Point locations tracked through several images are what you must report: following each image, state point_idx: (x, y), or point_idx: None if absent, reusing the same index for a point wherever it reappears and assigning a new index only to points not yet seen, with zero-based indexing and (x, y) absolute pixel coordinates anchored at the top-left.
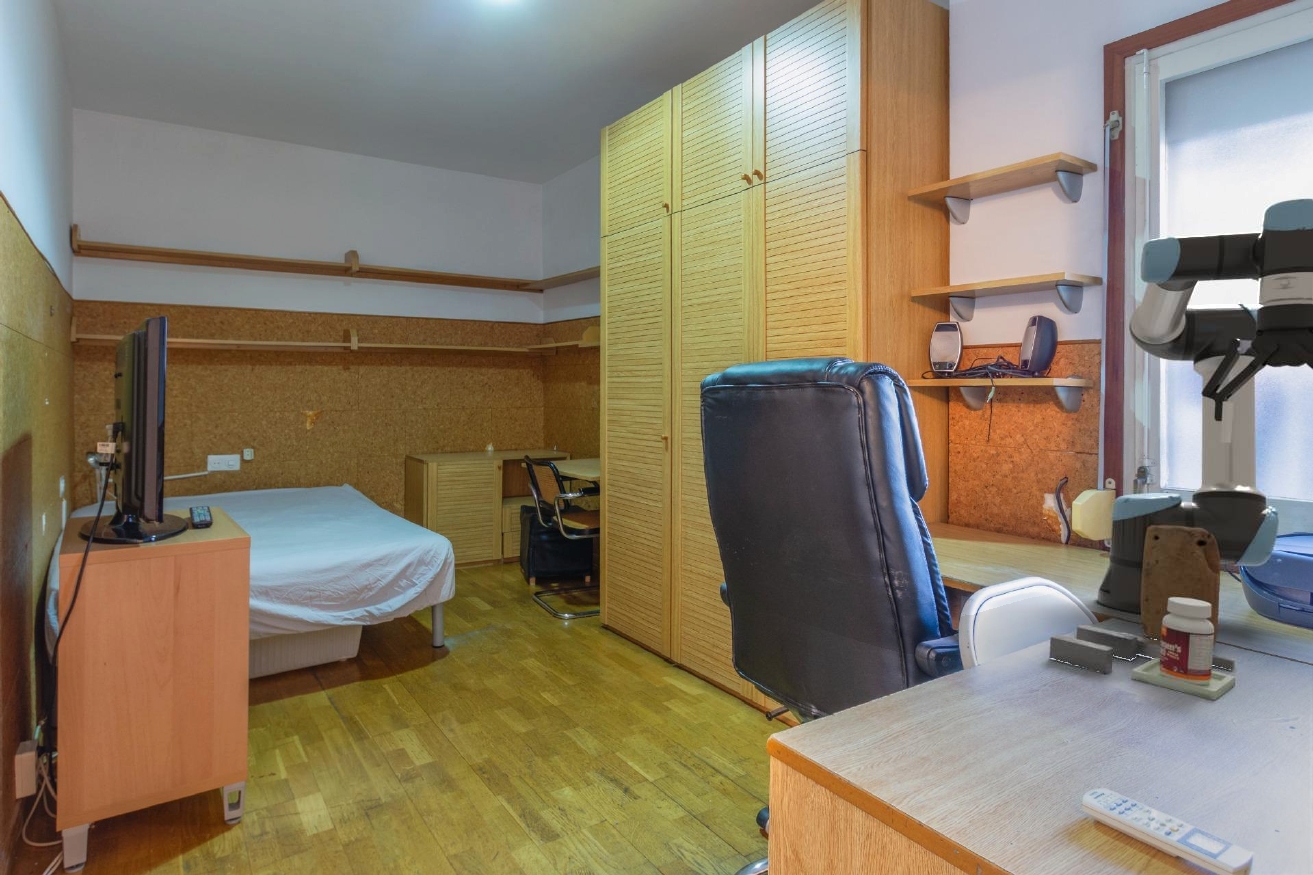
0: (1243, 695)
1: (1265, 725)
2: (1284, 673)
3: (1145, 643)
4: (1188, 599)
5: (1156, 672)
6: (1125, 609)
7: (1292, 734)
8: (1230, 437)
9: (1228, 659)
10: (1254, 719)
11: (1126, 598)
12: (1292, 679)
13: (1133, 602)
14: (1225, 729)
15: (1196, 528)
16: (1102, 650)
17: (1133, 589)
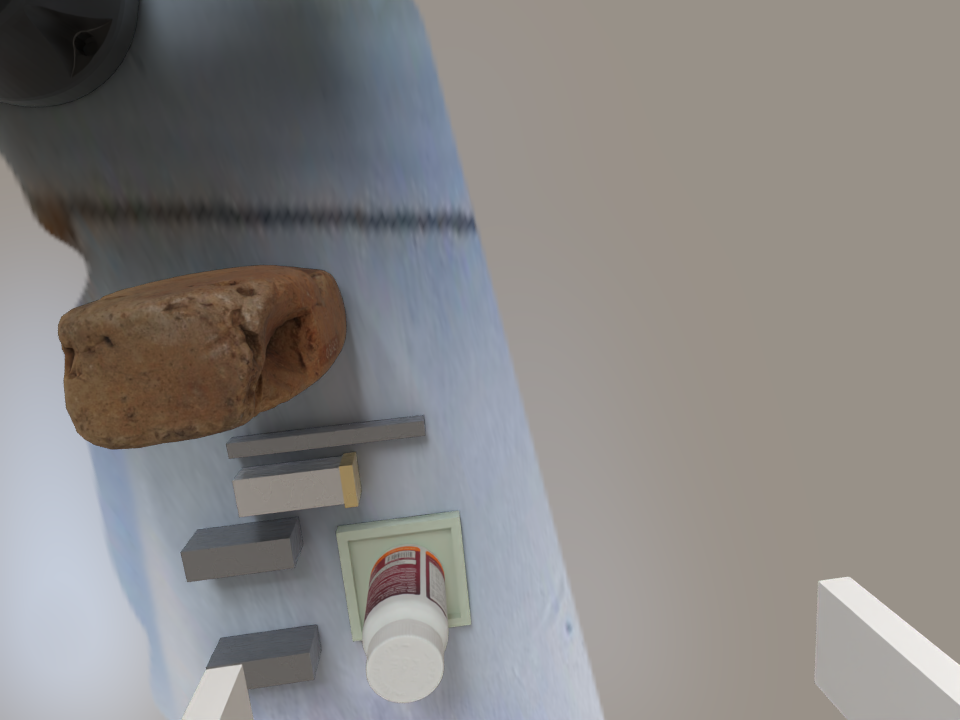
0: (485, 551)
1: (546, 652)
2: (482, 351)
3: (297, 508)
4: (394, 651)
5: (367, 585)
6: (39, 106)
7: (576, 654)
8: (234, 714)
9: (416, 429)
10: (530, 642)
11: (17, 97)
12: (501, 379)
13: (44, 98)
14: (521, 712)
15: (206, 357)
16: (307, 679)
17: (10, 76)
